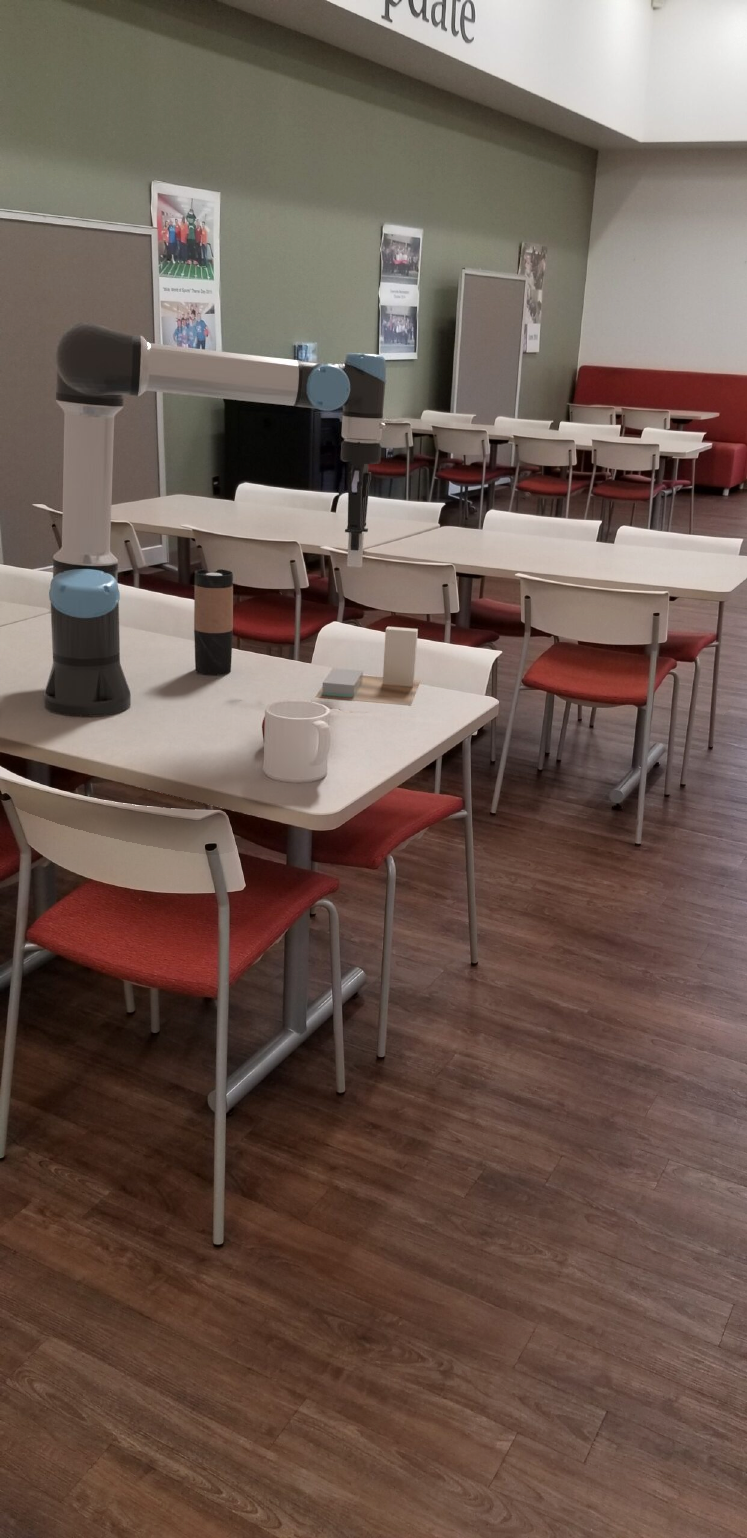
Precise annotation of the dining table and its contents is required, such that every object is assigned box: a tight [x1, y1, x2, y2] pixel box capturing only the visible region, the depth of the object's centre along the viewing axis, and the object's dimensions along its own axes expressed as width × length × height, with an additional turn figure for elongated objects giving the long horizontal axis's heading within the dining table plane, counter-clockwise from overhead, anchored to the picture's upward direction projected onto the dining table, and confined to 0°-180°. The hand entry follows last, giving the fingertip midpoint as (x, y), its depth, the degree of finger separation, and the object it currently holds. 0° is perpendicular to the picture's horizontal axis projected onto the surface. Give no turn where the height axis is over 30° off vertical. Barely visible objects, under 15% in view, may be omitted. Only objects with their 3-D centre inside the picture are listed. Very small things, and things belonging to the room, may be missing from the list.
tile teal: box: [321, 667, 364, 698], centre depth 229 cm, size 2×6×11 cm
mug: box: [263, 699, 331, 784], centre depth 185 cm, size 13×10×10 cm
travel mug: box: [193, 568, 234, 676], centre depth 238 cm, size 8×8×20 cm
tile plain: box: [382, 626, 419, 687], centre depth 233 cm, size 2×6×11 cm, turn 82°
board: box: [315, 674, 421, 707], centre depth 231 cm, size 18×18×1 cm
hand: (354, 566), depth 231 cm, fingers closed
